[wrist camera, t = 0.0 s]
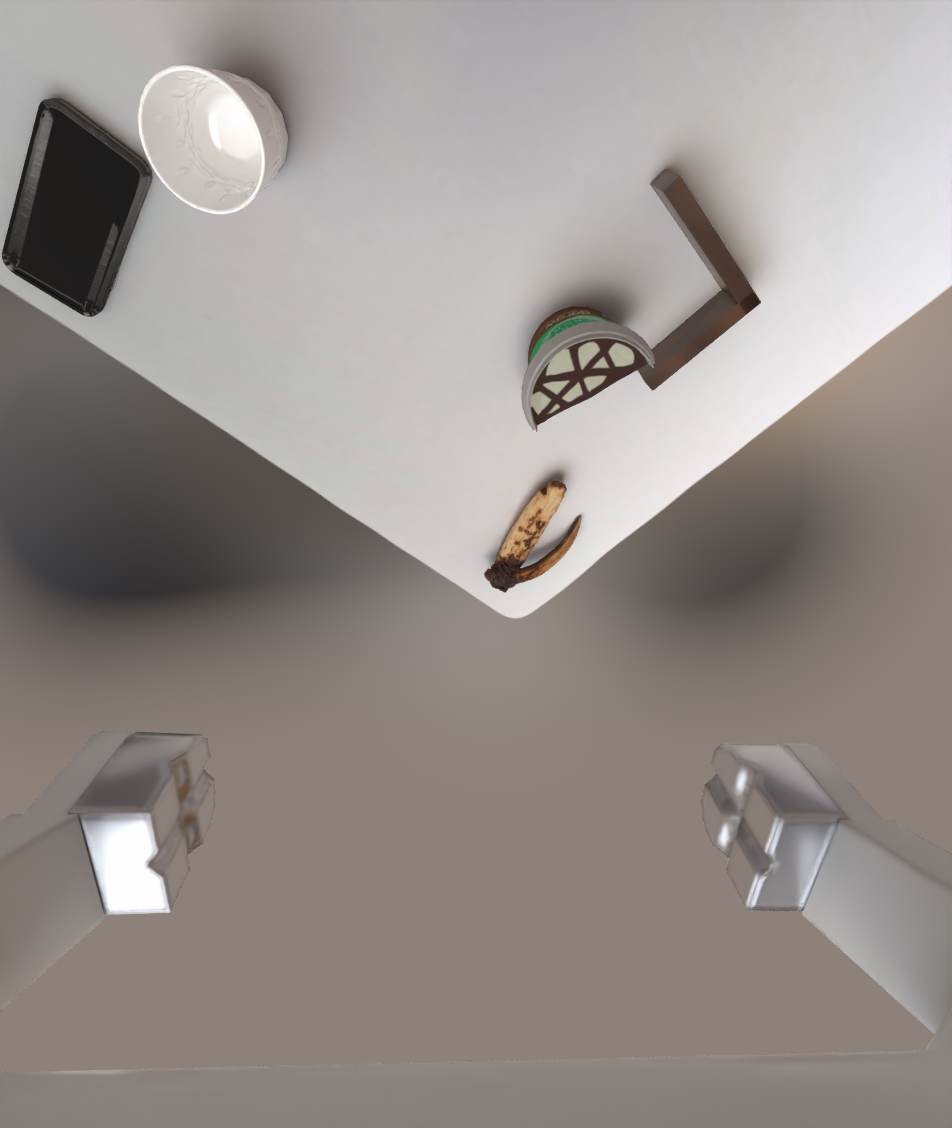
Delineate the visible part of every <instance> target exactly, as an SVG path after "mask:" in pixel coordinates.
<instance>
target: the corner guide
mask: <svg viewBox="0 0 952 1128" xmlns="http://www.w3.org/2000/svg"><path fill="white" fill-rule="evenodd" d="M651 186H652V187H653V189H654V190H655V192H656V193H657V195H658V196H659V198H660V199H661V200H662V202H663V203H664V205H665V206H666V208H667V209H668V211H669V212H670V214H671V215H672V217H673V218H674V220H675V221H676V222H677V224H678V225H679V227H680V228H681V230H682V231H683V233H684V234H685V236H686V237H687V239H688V240H689V242H690V243H691V245H692V246H693V247H694V249H695V250H696V252H697V253H698V255H699V256H700V258H701V259H702V261H703V262H704V264H705V265H706V267H707V268H708V269H709V271H710V272H711V274H712V275H713V277H714V278H715V280H716V281H717V283H718V284H719V286H720V287H721V289H722V290H721V291H720V292H719V293H718V294H717V295H716V296H714V297H713V298H712V299H711V300H710V301H709V302H707V303H706V304H705V305H704V306H703V307H702V308H700V309H699V310H698V311H697V312H696V313H695V314H693V315H692V316H691V317H690V318H689V319H688V320H686V321H685V322H684V323H683V324H682V325H681V326H679V327H678V328H677V329H676V330H675V331H673V332H672V333H671V334H670V335H669V336H668V337H666V338H665V339H664V340H663V341H662V342H661V343H659V344H658V345H657V346H656V347H655V348H654V349H652V350H651V351H652V353H653V354H654V359H655V364H653V366H654V368H652V367H651V366H650V365H649V364H647V365H645V366H643V367H642V368H640V369H638V371H639V373H640V375H641V376H642V378H643V380H644V381H645V383H646V384H647V385H648V386H649V387H650V388H651V390H654V389H656V388H657V387H658V386H659V385H661V384H662V383H663V382H664V381H665V380H667V379H668V378H669V377H670V376H672V375H673V374H674V373H675V372H676V371H678V370H679V369H680V368H681V367H683V366H684V365H685V364H686V363H688V362H689V361H690V360H691V359H692V358H694V357H695V356H696V355H697V354H699V353H700V352H701V351H702V350H703V349H705V348H706V347H707V346H708V345H710V344H711V343H712V342H713V341H714V340H716V339H717V338H718V337H719V336H721V335H722V334H723V333H724V332H726V331H727V330H728V329H729V328H730V327H732V326H733V325H734V324H735V323H737V322H738V321H739V320H740V319H741V318H743V317H744V316H745V315H746V314H748V313H749V312H750V311H751V310H753V309H754V308H755V307H756V306H757V305H759V304H760V303H761V301H760V300H759V298H758V297H757V295H756V293H755V292H754V290H753V289H752V287H751V286H750V284H749V283H748V281H747V280H746V278H745V276H744V275H743V273H742V272H741V270H740V269H739V267H738V266H737V264H736V262H735V261H734V259H733V258H732V256H731V255H730V253H729V252H728V250H727V249H726V247H725V245H724V244H723V242H722V241H721V239H720V238H719V236H718V235H717V233H716V232H715V230H714V228H713V227H712V225H711V224H710V222H709V221H708V219H707V218H706V216H705V214H704V213H703V211H702V210H701V208H700V207H699V205H698V204H697V202H696V201H695V199H694V197H693V196H692V194H691V193H690V191H689V190H688V188H687V187H686V185H685V184H684V182H683V180H682V179H681V177H680V176H679V175H677V174H675V173H673V172H671V171H669V170H667V169H664V170H663V171H662V172H661V173H660V174H659V175H658V176H657V177H656V178H655V179H654V181H653V182H652V183H651Z"/></svg>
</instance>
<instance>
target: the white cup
mask: <svg viewBox="0 0 952 1128" xmlns="http://www.w3.org/2000/svg"><path fill="white" fill-rule="evenodd" d="M138 127H139V133H140V138H141V142H142V145H143V148H144V151H145V154H146V156H147V158H148V160H149V162H150V164H151V166H152V168H153V169H154V171H155V173H156V174H157V175H158V177H159V178H160V180H161V181H162V182H163V183H164V184H165V186H166V187H167V188H168V189H169V190H170V191H171V192H172V193H173V194H175V195H176V196H177V197H178V198H179V199H181V200H182V201H184V202H185V203H187V204H188V205H190V206H192V207H194V208H196V209H198V210H201V211H204V212H208V213H213V214H228V213H233V212H236V211H238V210H240V209H242V208H244V207H245V206H247V205H248V204H249V203H250V202H251V201H252V200H253V199H254V198H255V197H256V196H257V195H258V194H260V193H261V192H262V191H263V190H264V189H265V188H266V187H267V185H268V184H269V183H270V182H271V181H272V180H273V179H274V177H275V176H276V174H277V172H278V171H279V169H280V168H281V166H282V165H283V163H284V162H285V160H286V154H287V146H288V135H287V131H286V127H285V123H284V119H283V115H282V113H281V111H280V110H279V108H278V107H277V105H276V104H275V102H274V101H273V99H272V98H271V96H270V95H269V93H268V92H267V91H265V90H264V89H263V88H261V87H260V86H258V85H257V84H256V83H254V82H253V81H252V80H250V79H249V78H244V77H239V76H237V75H235V74H232V73H229V72H225V71H221V70H214V69H209V68H202V67H196V66H190V65H176V66H171V67H168V68H165V69H163V70H161V71H160V72H158V73H157V74H155V75H154V76H153V77H152V78H151V79H150V81H149V82H148V83H147V85H146V86H145V88H144V90H143V93H142V95H141V98H140V102H139V109H138Z"/></svg>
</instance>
